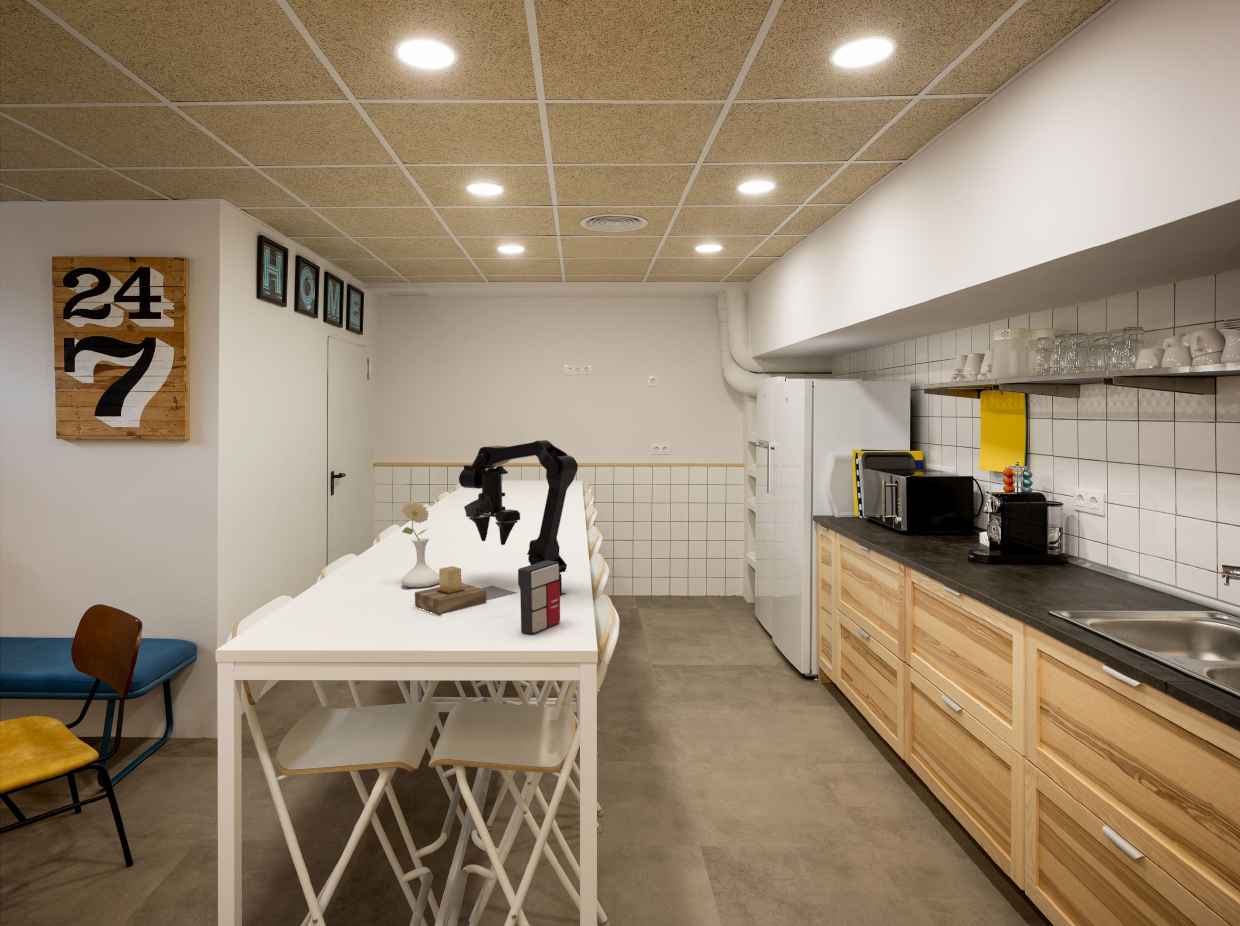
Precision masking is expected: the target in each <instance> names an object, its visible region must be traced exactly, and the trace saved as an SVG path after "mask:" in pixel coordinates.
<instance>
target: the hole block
mask: <svg viewBox="0 0 1240 926" xmlns="http://www.w3.org/2000/svg"><path fill="white" fill-rule="evenodd" d="M482 588H483V587H478V586H474V585H471V584H467V583H464V582H461V589H462V592H458V593H454V594H449V595H446V594H443V593H440V586H437V587H433V588H428V589H423V590H419V591H415V592H414V604H415V606H416V607H418V608H417V609H419V608H421V609H424V610H426V611H425V612H427V611H429V612H428V613H430V612H432V613H431V614H433V613H434V614H433V615H435V614H437V615H436V616H438V615H443V614H447V613H451V612H456V611H461V610H463V609H467V608H471V607H476V606H480V605H484V604H487V601H486V590H485V589H482ZM415 606H414V607H415ZM416 607H415V608H416ZM421 609H420V610H421ZM424 610H423V611H424Z"/></svg>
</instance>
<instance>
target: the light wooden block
mask: <svg viewBox="0 0 1240 926" xmlns="http://www.w3.org/2000/svg"><path fill="white" fill-rule="evenodd" d="M438 569H439V572H438V574H439V576H440V582H439V587H440V593H443V594H446V595H449V594H454V593H458V592H462V589H461V583H462V568H460V567H456V566H454V565H453V566H448V567H441V568H438Z"/></svg>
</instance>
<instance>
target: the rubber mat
mask: <svg viewBox="0 0 1240 926" xmlns="http://www.w3.org/2000/svg"><path fill="white" fill-rule="evenodd" d="M481 588H482V589H485V590H486V602H487V601H489V600H494V599H497V598H498V599H499V598H503V597H506V596H511V595H515V594H518V592H517V591H513V590H509V589H506V588H503V587H499V586H495V585H489V586H488V585H487V586H485V587H481Z"/></svg>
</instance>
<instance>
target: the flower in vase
mask: <svg viewBox="0 0 1240 926" xmlns="http://www.w3.org/2000/svg"><path fill="white" fill-rule="evenodd" d="M401 512H402V513H403V515H404V516H405V517H406V518H407V519H408V520H409V521H411V528H410V527H409V526H406V527H404V528H403V530H402V531H401V532H402V533H403V534H408V535H412V534H413V533H414V536H415V537H416V538H413V539H411V542H412V543H413V545H414V547H415V551H416V563H415V565H414V566H413V568H412V569H410V570H409V571H408V572H407V573H406V574H404V576H403V577H402V579H401V582H400V583H401V584H402V585H403V586H406V587H409V588H426V587H433V586H434V585H436V584H440V576H439V572H437V571H435V570H434V569H432V568H431V567H430V566H428V565H427V563H426V555H425V554H426V553H425V552H426V548H427V547H426V546H427V544H428V542H429V540H430V538H427V537H418V536H420V535H422V534H423V533H425V532H426V531H427V530H428V528H429V527H427V528H426V529H422V530H421V531H420V532H419V533H418V534H417V533H416V530H414V523H419V524H421V523H424V522H425V521H426V522H427V521H428V518H429V514H430V513H429V511H428V510H427V507H426V506H424V505H423V504H422V503H421V504H420V503H419V502H418V501H415V502H414V501H408V502H406V503H404V504H403V505H402V510H401Z"/></svg>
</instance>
